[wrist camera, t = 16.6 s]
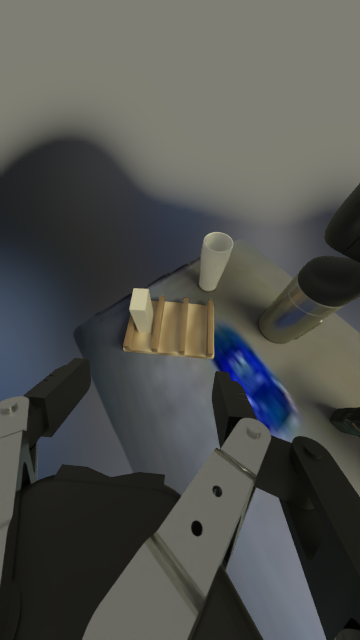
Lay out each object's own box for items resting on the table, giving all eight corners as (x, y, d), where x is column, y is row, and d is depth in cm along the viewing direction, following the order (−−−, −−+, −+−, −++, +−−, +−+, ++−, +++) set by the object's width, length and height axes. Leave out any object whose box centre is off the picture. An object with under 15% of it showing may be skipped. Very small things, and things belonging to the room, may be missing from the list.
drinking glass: (203, 272, 56) (212, 227, 43) (223, 282, 54) (238, 238, 41) (191, 287, 53) (197, 244, 40) (212, 298, 52) (225, 257, 38)
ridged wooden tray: (212, 308, 50) (215, 300, 47) (212, 359, 44) (216, 354, 40) (136, 302, 50) (133, 293, 47) (124, 351, 44) (120, 345, 40)
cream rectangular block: (154, 315, 47) (148, 289, 37) (151, 333, 45) (145, 310, 35) (142, 314, 47) (133, 288, 37) (139, 332, 45) (129, 309, 35)
